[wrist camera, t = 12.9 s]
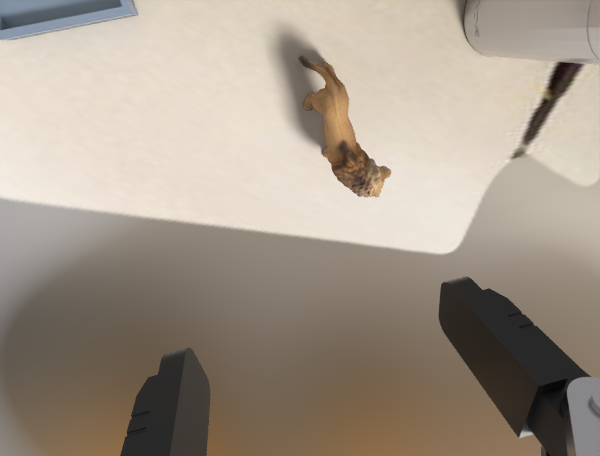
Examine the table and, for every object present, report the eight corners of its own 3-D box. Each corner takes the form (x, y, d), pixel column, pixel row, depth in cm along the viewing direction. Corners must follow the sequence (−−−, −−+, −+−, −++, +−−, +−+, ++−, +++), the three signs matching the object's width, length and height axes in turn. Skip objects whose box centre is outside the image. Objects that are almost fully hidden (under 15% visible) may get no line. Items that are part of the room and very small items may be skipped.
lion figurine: (372, 160, 41) (404, 188, 33) (335, 181, 41) (358, 214, 34) (319, 42, 33) (345, 44, 25) (275, 71, 34) (287, 81, 26)
